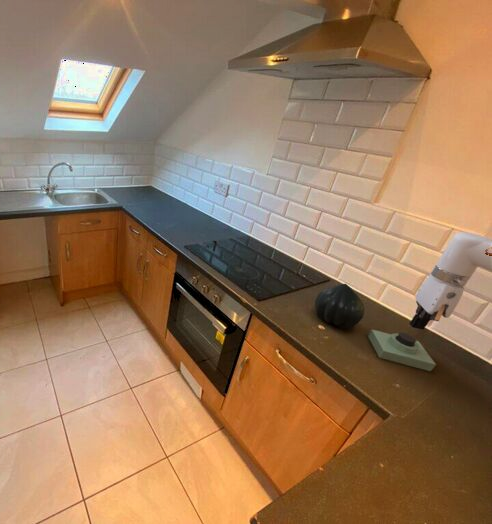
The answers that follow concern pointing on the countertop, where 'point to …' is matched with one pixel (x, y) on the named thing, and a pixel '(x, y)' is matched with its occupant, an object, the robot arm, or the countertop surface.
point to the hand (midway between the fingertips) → (416, 326)
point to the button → (406, 339)
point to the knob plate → (400, 351)
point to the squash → (339, 306)
